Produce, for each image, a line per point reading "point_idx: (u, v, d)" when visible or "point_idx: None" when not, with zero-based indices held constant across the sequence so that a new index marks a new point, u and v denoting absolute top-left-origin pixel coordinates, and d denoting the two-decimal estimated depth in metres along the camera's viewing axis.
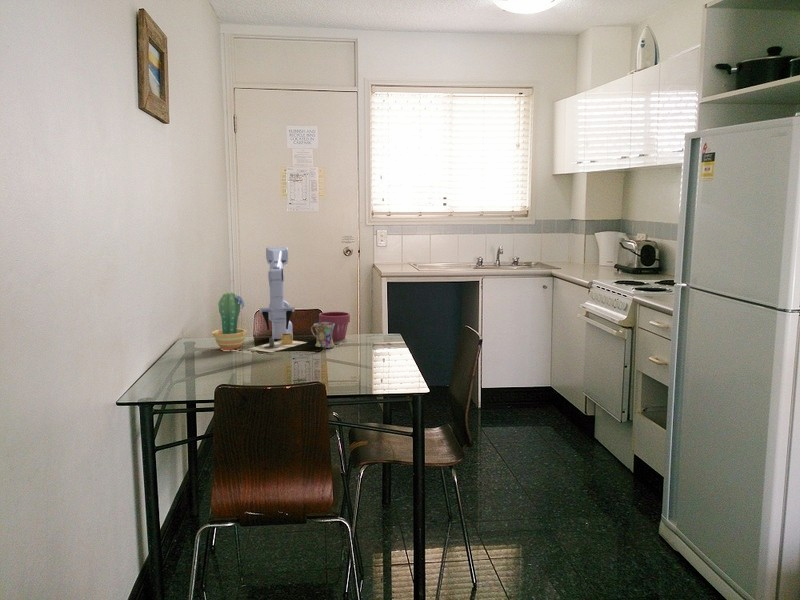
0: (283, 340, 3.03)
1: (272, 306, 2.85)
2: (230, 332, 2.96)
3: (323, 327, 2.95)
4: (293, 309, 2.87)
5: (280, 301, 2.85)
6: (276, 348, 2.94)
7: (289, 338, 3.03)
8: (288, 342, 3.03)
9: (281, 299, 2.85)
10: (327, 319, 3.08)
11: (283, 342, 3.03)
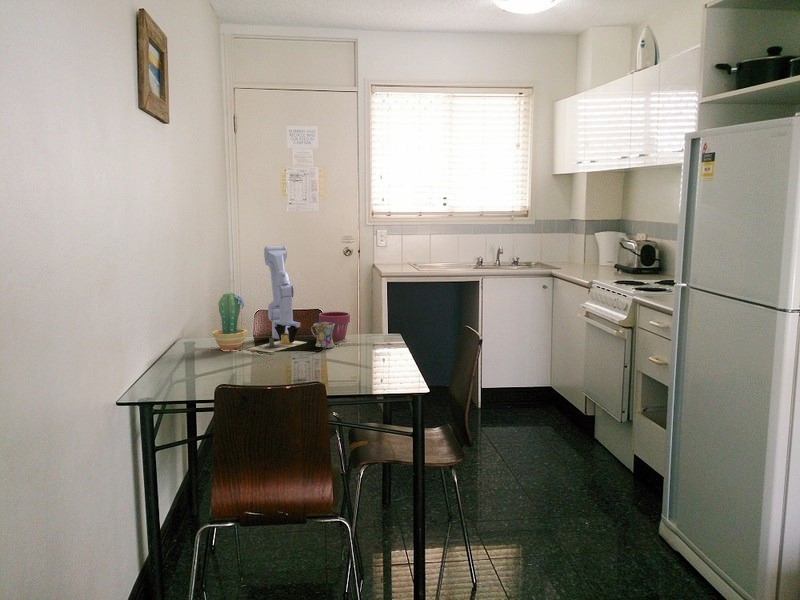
0: (283, 340, 3.03)
1: (280, 320, 3.03)
2: (230, 332, 2.96)
3: (323, 327, 2.95)
4: (296, 325, 3.00)
5: (285, 316, 3.01)
6: (276, 348, 2.94)
7: None
8: (288, 342, 3.03)
9: (286, 315, 3.01)
10: (327, 319, 3.08)
11: (283, 342, 3.03)
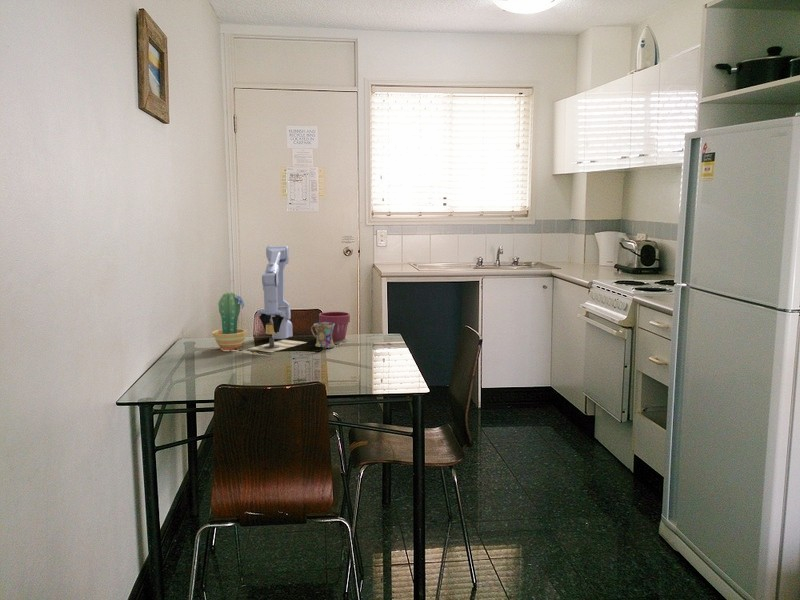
0: (268, 330, 2.94)
1: (264, 310, 2.94)
2: (230, 332, 2.96)
3: (323, 327, 2.95)
4: (281, 314, 2.91)
5: (270, 305, 2.92)
6: (276, 348, 2.94)
7: None
8: (273, 332, 2.94)
9: (271, 304, 2.92)
10: (327, 319, 3.08)
11: (268, 332, 2.94)
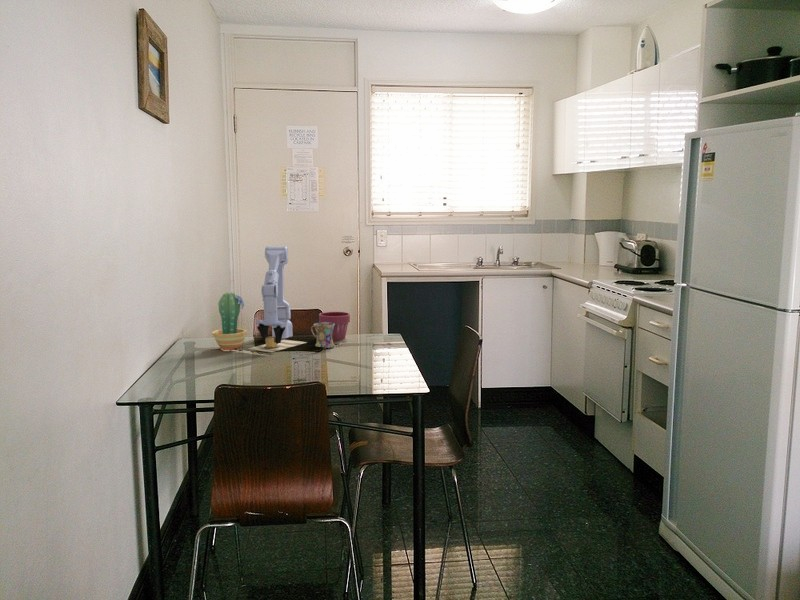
0: (268, 343, 2.94)
1: (264, 320, 2.94)
2: (230, 332, 2.96)
3: (323, 327, 2.95)
4: (281, 325, 2.91)
5: (270, 316, 2.92)
6: (276, 348, 2.94)
7: (274, 341, 2.94)
8: (273, 346, 2.94)
9: (271, 314, 2.92)
10: (327, 319, 3.08)
11: (268, 346, 2.94)
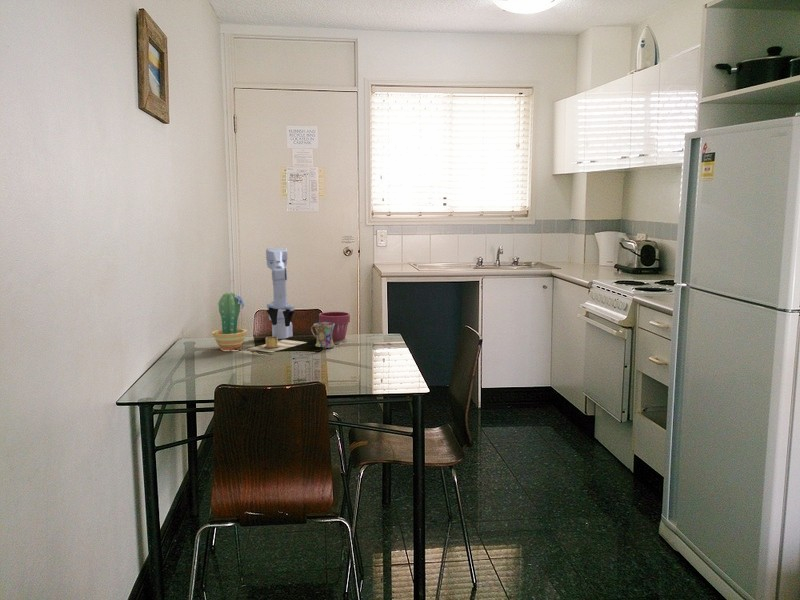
0: (268, 343, 2.94)
1: (273, 304, 3.02)
2: (230, 332, 2.96)
3: (323, 327, 2.95)
4: (290, 308, 2.98)
5: (279, 300, 2.99)
6: (276, 348, 2.94)
7: (274, 341, 2.94)
8: (273, 346, 2.94)
9: (280, 298, 3.00)
10: (327, 319, 3.08)
11: (268, 346, 2.94)
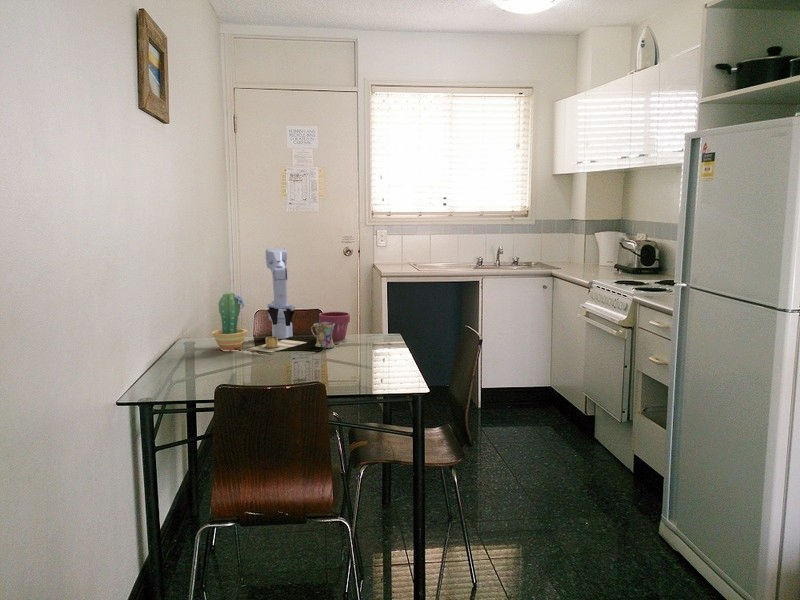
0: (268, 343, 2.94)
1: (274, 303, 3.02)
2: (230, 332, 2.96)
3: (323, 327, 2.95)
4: (291, 308, 2.99)
5: (280, 299, 3.00)
6: (276, 348, 2.94)
7: (274, 341, 2.94)
8: (273, 346, 2.94)
9: (281, 298, 3.00)
10: (327, 319, 3.08)
11: (268, 346, 2.94)
